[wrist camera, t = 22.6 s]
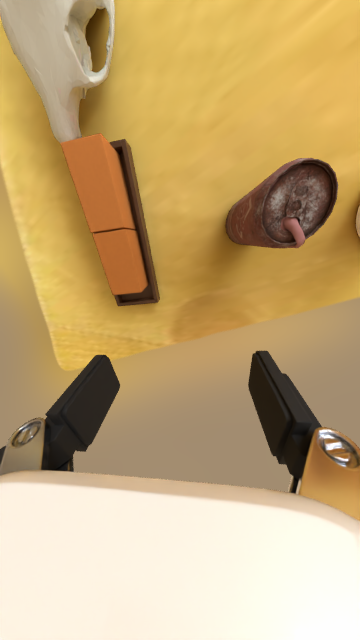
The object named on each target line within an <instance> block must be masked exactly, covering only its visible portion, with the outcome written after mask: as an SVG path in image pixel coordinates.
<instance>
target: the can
mask: <svg viewBox="0 0 360 640" xmlns="http://www.w3.org/2000/svg"><path fill="white" fill-rule="evenodd" d="M337 191H338V182H337V178H336V174H335V172H334V171H333V169H332V168H331V167H330V165H329V164H328V163H325V162H323V161H321V160H319V159H313V158H299V159H296V160H294V161H291V162H289V163H286V164H284V165H283V166H282V167H280V168H279V169H278V170H277V171H275V172H274V173H273V174H272V175H270V176H269V177H268V178H267V179H265V180H264V181H263V182H262V183H261V184H259V185H258V186H257V187H256V188H254V189H253V190H252V191H251V192H249V193H248V194H247V195H246V196H244V197H243V198H242V199H241V200H239V201H238V202H237V203H236V204H235V205H233V207H232V208H231V210H230V211H229V213H228V216H227V218H226V232H227V234H228V236H229V238H230V239H231V240H232V241H233V242H235V243H238V244H243V245H252V246H261V247H269V248H299V247H300V246H301V245H303V244H304V242H305V240H306V239H307V238H309V237H310V236H312V235H313V234H314V233H315V232H316V231H317V230H318V229H319V228H320V227H322V226H323V225H324V223H325V222H326V220H327V219H328V217H329V216H330V214H331V213H332V210H333V207H334V205H335V202H336V199H337Z"/></svg>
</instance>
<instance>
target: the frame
mask: <svg viewBox="0 0 360 640" xmlns="http://www.w3.org/2000/svg"><path fill="white" fill-rule="evenodd" d="M109 143H110V145H111V146H112V147H113V148H114V149H115V150H116V151H117V153H118V154H119V155H120V160H121V164H122V169H123V173H124V178H125V182H126V187H127V191H128V196H129V200H130V205H131V209H132V214H133V218H134V223H135V227H136V229H135V231H137V233H138V237H139V242H140V246H141V251H142V256H143V260H144V265H145V269H146V274H147V278H148V283H149V285H148V286H147V287H146V288H145V289H144V290H143V291H142V292H139V293H129V294H119V295H114V296H115V299H116V302H117V305H118V306H125V305H136V304H147V303H158V302H159V300H160V297H159V292H158V287H157V281H156V276H155V271H154V266H153V261H152V256H151V250H150V245H149V240H148V235H147V230H146V225H145V220H144V214H143V209H142V204H141V199H140V194H139V189H138V183H137V178H136V173H135V168H134V163H133V158H132V153H131V147H130V146H129V144H128V143H127V141H126V140H125V139H122V140H118V141H114V142H109ZM94 234H97V233H94Z"/></svg>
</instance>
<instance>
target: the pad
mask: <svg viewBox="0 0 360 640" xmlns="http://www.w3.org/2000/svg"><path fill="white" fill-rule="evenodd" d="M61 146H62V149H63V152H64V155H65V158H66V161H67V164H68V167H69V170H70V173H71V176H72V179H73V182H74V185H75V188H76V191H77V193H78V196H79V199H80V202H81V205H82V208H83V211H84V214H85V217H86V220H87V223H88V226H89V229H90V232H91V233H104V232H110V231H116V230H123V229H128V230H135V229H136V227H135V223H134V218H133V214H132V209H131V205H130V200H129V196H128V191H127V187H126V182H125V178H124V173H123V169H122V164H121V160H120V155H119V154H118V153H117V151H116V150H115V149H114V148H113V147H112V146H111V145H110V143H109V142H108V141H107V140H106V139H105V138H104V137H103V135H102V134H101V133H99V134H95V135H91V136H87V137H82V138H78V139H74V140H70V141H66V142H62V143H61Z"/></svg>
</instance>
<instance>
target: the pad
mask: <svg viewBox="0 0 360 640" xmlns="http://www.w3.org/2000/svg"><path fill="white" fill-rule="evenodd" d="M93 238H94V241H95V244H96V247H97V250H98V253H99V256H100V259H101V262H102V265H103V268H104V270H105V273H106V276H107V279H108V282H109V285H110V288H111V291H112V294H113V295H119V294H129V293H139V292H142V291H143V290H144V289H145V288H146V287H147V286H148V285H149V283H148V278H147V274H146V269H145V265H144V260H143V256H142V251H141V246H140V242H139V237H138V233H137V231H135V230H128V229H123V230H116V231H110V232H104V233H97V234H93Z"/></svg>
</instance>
